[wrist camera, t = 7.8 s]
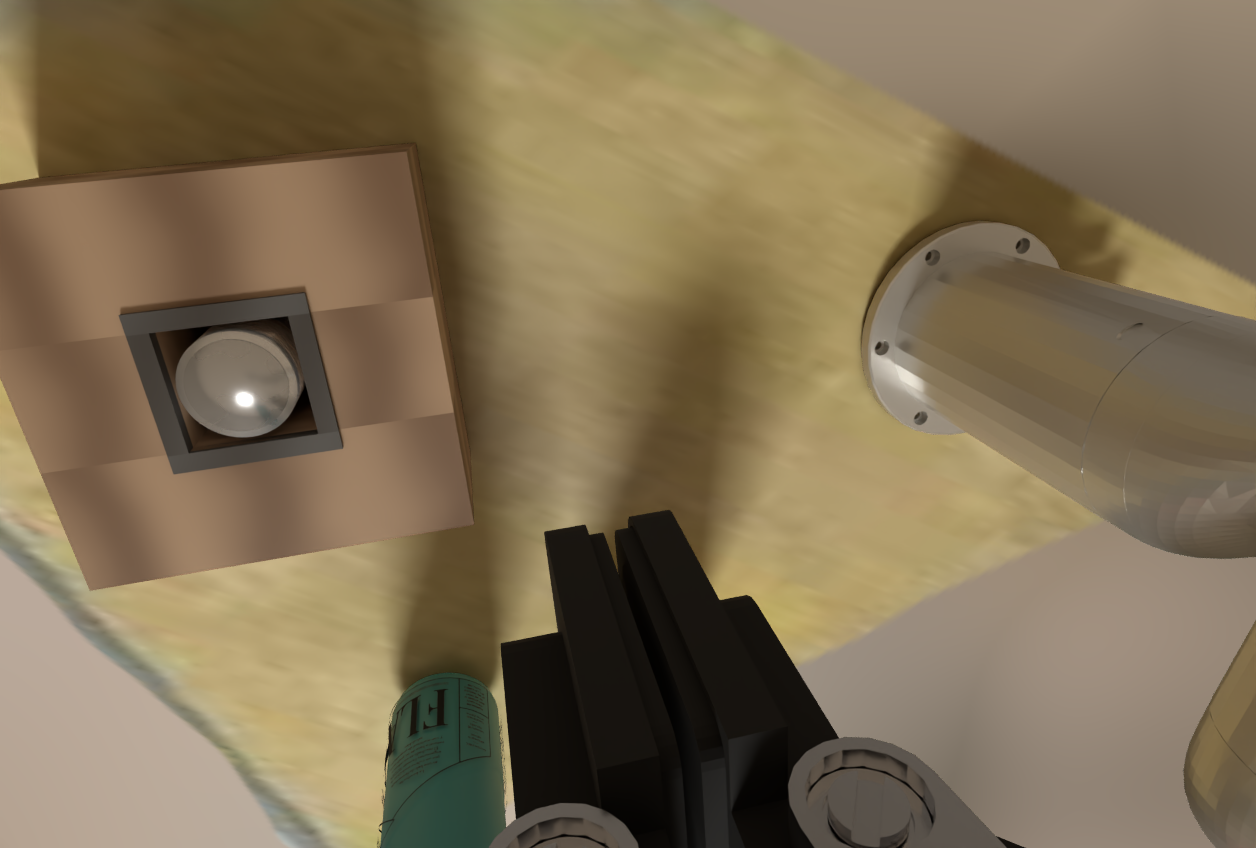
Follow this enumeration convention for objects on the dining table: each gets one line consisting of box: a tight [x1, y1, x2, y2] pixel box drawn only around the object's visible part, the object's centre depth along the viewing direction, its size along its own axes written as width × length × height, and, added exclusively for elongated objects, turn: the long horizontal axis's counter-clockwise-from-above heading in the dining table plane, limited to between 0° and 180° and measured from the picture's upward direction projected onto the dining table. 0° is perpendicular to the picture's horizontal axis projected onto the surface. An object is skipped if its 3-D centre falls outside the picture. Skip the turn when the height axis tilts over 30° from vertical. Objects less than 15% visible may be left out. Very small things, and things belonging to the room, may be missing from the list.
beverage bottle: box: [377, 673, 507, 848], centre depth 39 cm, size 6×7×20 cm
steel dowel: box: [175, 316, 306, 437], centre depth 34 cm, size 4×4×8 cm
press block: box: [0, 143, 474, 591], centre depth 34 cm, size 16×16×8 cm
